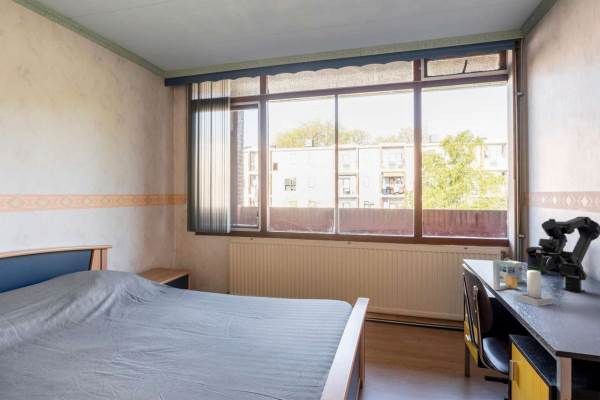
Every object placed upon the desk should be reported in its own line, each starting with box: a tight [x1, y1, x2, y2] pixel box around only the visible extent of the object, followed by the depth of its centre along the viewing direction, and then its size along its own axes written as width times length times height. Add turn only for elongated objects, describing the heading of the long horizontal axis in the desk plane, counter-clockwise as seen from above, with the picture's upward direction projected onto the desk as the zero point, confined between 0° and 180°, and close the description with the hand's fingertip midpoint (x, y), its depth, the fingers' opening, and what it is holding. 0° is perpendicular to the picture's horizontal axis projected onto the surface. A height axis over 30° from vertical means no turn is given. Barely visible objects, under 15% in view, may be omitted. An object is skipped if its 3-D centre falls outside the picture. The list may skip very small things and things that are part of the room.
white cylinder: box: [525, 269, 544, 300], centre depth 143 cm, size 7×7×13 cm
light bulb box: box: [500, 260, 523, 284], centre depth 177 cm, size 11×7×11 cm, turn 105°
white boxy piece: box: [492, 259, 518, 291], centre depth 159 cm, size 13×13×15 cm
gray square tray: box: [516, 292, 554, 307], centre depth 143 cm, size 9×9×2 cm
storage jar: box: [526, 246, 548, 275], centre depth 195 cm, size 10×10×15 cm
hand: (543, 269), depth 146 cm, fingers open, 3 cm apart
